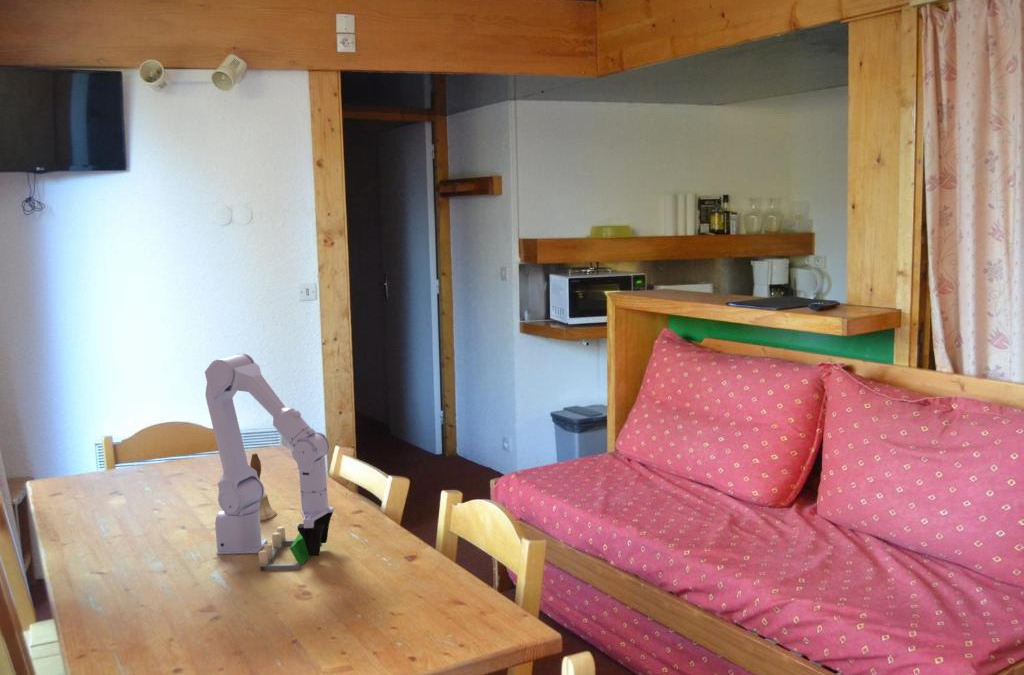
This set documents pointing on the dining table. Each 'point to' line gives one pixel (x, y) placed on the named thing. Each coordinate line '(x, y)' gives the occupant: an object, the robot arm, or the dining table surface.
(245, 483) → the robot arm
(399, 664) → the dining table surface
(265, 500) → the hand bell
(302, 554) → the pipe clamp
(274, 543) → the peg cradle
